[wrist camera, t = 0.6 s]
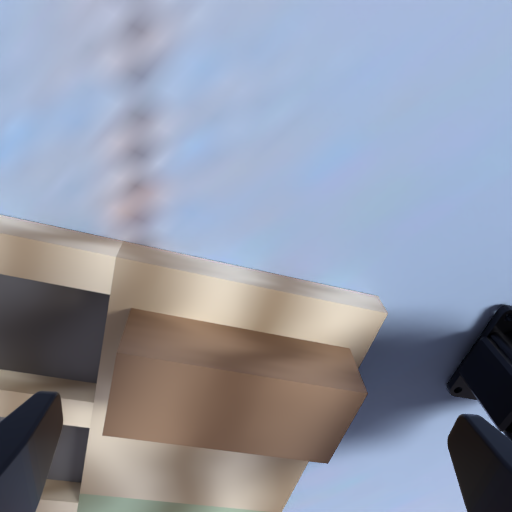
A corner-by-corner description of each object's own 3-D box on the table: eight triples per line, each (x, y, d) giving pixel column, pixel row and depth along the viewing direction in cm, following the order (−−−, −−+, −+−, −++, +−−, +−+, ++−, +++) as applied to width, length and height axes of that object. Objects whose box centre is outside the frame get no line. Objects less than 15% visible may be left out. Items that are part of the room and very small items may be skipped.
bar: (349, 348, 21) (367, 393, 19) (315, 414, 23) (327, 463, 21) (131, 307, 19) (116, 352, 16) (116, 385, 21) (102, 435, 19)
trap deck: (377, 296, 22) (387, 313, 20) (258, 530, 31) (259, 552, 30) (-45, 205, 18) (-66, 219, 16) (-31, 505, 27) (-43, 529, 26)
